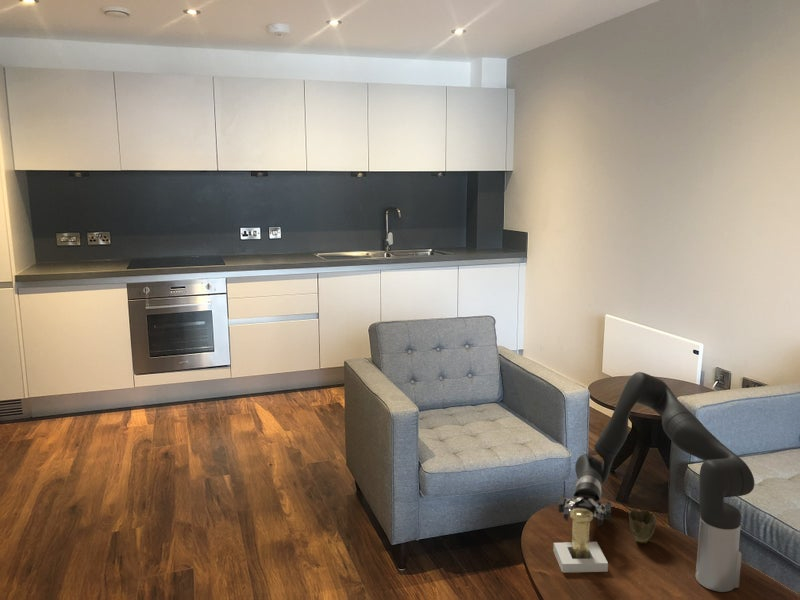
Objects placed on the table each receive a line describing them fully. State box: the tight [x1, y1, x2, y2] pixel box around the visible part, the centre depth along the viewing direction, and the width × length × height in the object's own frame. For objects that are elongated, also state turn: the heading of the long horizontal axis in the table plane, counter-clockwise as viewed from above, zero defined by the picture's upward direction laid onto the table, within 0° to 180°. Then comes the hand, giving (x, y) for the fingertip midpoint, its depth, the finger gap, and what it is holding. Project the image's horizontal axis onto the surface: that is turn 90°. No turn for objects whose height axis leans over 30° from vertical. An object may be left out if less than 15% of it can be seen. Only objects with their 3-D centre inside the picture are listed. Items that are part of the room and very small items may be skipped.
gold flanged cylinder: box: [569, 508, 594, 559], centre depth 178 cm, size 6×6×14 cm
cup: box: [628, 509, 658, 544], centre depth 188 cm, size 8×7×8 cm
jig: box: [553, 541, 609, 574], centre depth 179 cm, size 12×10×2 cm
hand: (582, 520), depth 182 cm, fingers open, 8 cm apart
